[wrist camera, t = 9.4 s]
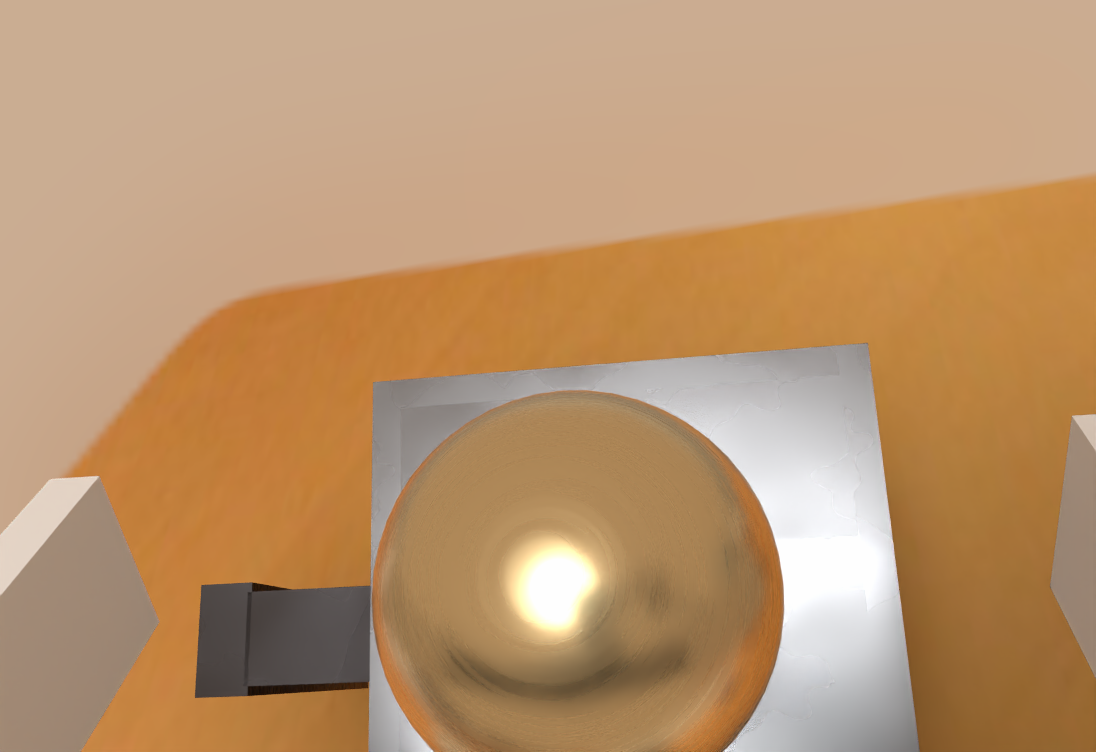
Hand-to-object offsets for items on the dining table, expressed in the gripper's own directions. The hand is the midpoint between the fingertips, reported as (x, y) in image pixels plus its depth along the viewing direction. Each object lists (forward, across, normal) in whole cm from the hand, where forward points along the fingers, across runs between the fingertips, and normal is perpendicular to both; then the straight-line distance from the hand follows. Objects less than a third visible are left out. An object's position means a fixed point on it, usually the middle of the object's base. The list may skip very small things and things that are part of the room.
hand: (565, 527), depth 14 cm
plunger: (+12, 0, -14) cm, 18 cm away
